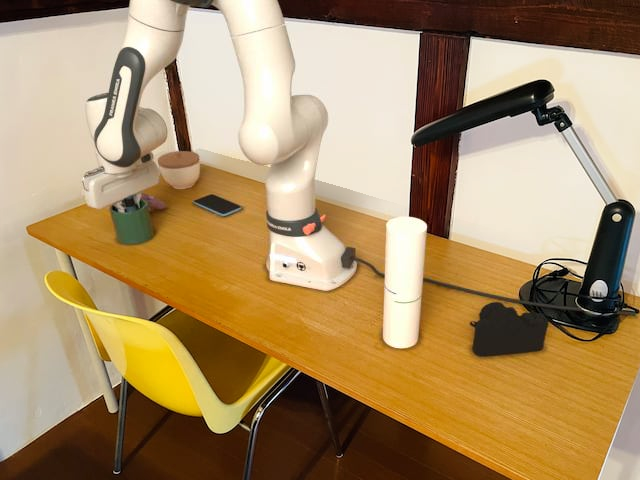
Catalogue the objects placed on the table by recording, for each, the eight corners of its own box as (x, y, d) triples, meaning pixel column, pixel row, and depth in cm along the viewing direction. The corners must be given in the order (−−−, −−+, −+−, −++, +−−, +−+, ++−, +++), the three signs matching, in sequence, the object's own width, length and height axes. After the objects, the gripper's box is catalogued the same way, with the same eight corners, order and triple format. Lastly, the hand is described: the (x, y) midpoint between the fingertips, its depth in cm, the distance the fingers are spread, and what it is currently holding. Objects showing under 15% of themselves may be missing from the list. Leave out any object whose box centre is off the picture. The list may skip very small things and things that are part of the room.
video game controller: (133, 213, 158) (121, 198, 152) (140, 201, 160) (128, 186, 154) (162, 217, 155) (151, 202, 149) (168, 205, 157) (158, 190, 152)
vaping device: (136, 236, 140) (125, 194, 134) (123, 231, 142) (112, 190, 136) (144, 232, 142) (134, 191, 136) (131, 228, 144) (121, 186, 138)
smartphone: (211, 193, 164) (243, 206, 156) (212, 195, 165) (243, 209, 157) (191, 200, 160) (223, 214, 151) (191, 203, 160) (223, 217, 152)
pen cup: (161, 233, 144) (154, 202, 139) (134, 247, 137) (126, 216, 132) (137, 225, 148) (130, 195, 143) (110, 239, 141) (101, 208, 136)
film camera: (527, 322, 111) (535, 286, 106) (548, 353, 103) (557, 315, 98) (457, 328, 109) (462, 292, 104) (472, 360, 101) (478, 322, 96)
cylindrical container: (396, 321, 111) (401, 213, 98) (425, 335, 107) (434, 224, 94) (375, 338, 106) (378, 226, 93) (404, 353, 103) (411, 239, 89)
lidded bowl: (193, 174, 180) (187, 142, 174) (210, 185, 172) (205, 152, 166) (156, 183, 173) (149, 150, 167) (172, 195, 165) (166, 161, 159)
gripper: (89, 177, 122) (104, 230, 130) (158, 151, 137) (168, 200, 145) (71, 172, 125) (87, 224, 132) (141, 147, 140) (151, 195, 147)
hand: (129, 211), depth 139 cm, fingers closed on vaping device, 2 cm apart
